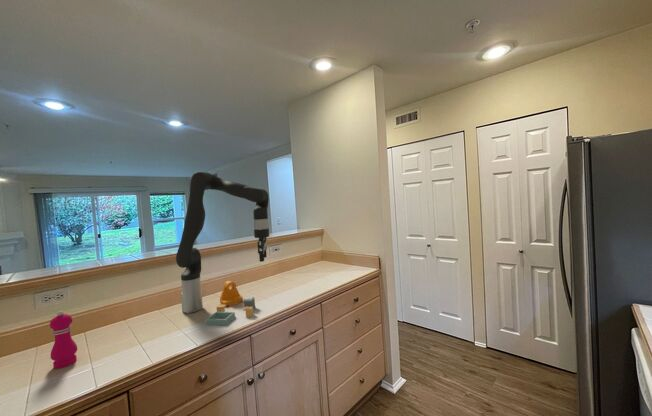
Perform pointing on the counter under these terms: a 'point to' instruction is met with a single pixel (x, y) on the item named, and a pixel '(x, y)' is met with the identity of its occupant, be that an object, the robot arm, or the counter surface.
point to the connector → (249, 302)
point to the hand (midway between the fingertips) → (263, 259)
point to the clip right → (248, 311)
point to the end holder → (213, 321)
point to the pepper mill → (62, 341)
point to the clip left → (221, 308)
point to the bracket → (230, 294)
